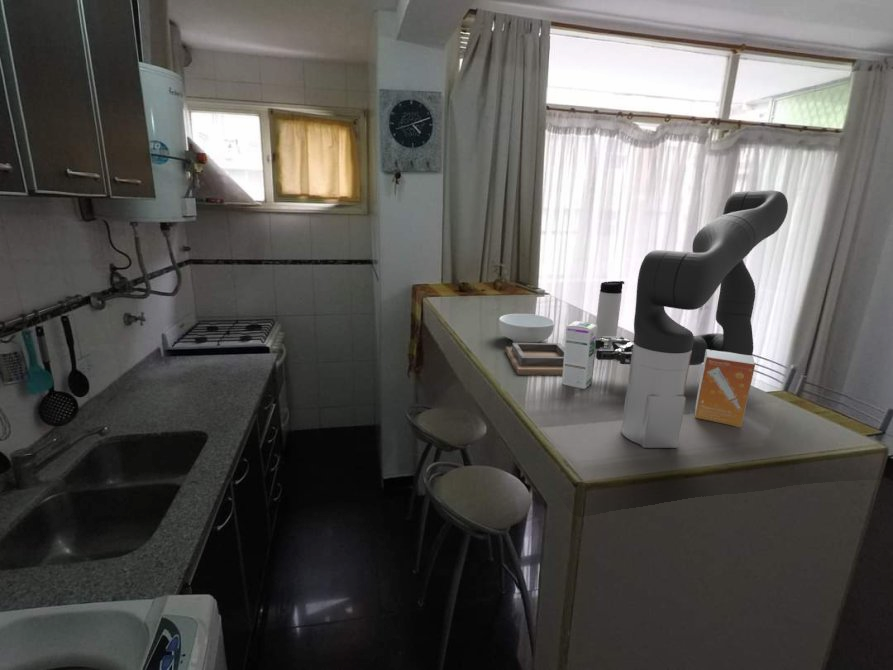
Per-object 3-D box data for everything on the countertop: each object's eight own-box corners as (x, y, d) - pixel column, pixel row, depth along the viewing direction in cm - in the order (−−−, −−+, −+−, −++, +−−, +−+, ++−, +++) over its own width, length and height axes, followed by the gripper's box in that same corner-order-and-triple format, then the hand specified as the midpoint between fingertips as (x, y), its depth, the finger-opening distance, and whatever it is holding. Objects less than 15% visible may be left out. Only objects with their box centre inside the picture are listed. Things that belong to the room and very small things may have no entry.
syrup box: (585, 389, 103) (592, 328, 99) (560, 384, 106) (566, 324, 102) (592, 382, 108) (599, 323, 104) (568, 377, 111) (573, 320, 107)
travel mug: (617, 349, 135) (626, 282, 130) (594, 347, 136) (602, 281, 131) (614, 343, 141) (622, 279, 136) (592, 341, 142) (599, 278, 137)
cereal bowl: (492, 345, 137) (493, 322, 135) (503, 332, 152) (505, 311, 150) (549, 351, 131) (551, 328, 129) (555, 337, 147) (557, 316, 145)
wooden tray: (581, 375, 112) (582, 361, 112) (517, 374, 112) (518, 361, 111) (560, 352, 131) (561, 340, 130) (505, 351, 130) (506, 340, 129)
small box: (694, 418, 90) (705, 356, 86) (694, 407, 95) (705, 348, 92) (742, 428, 86) (756, 363, 83) (739, 416, 91) (752, 354, 88)
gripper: (646, 326, 111) (582, 325, 111) (677, 343, 98) (603, 342, 97) (642, 355, 113) (579, 354, 113) (671, 375, 100) (599, 374, 99)
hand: (590, 349), depth 105 cm, fingers open, 8 cm apart
